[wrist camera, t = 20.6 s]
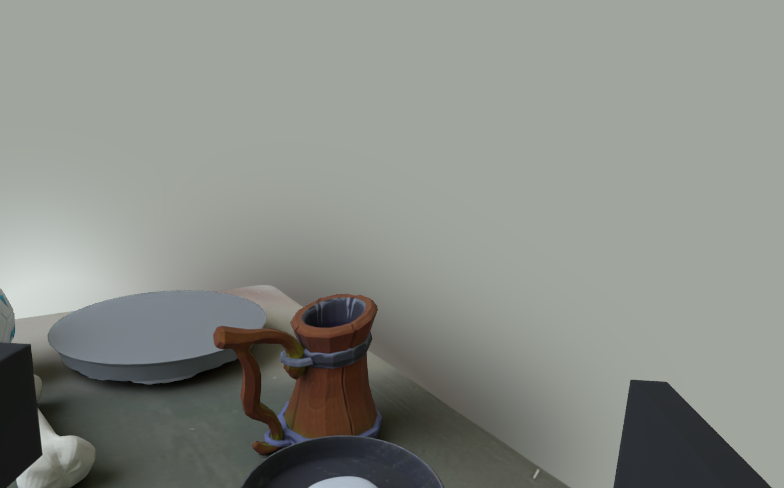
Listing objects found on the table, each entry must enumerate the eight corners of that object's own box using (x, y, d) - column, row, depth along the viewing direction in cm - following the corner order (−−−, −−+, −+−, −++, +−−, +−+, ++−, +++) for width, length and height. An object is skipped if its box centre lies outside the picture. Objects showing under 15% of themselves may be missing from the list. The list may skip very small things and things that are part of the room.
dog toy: (103, 485, 48) (99, 436, 47) (24, 518, 44) (18, 465, 43) (41, 400, 62) (37, 360, 61) (-24, 419, 57) (-30, 376, 56)
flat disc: (303, 357, 76) (303, 328, 75) (86, 426, 57) (82, 388, 56) (213, 304, 96) (213, 280, 95) (29, 342, 77) (26, 313, 76)
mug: (237, 504, 47) (235, 345, 44) (200, 438, 56) (196, 303, 53) (403, 443, 57) (411, 310, 54) (349, 396, 66) (353, 280, 63)
